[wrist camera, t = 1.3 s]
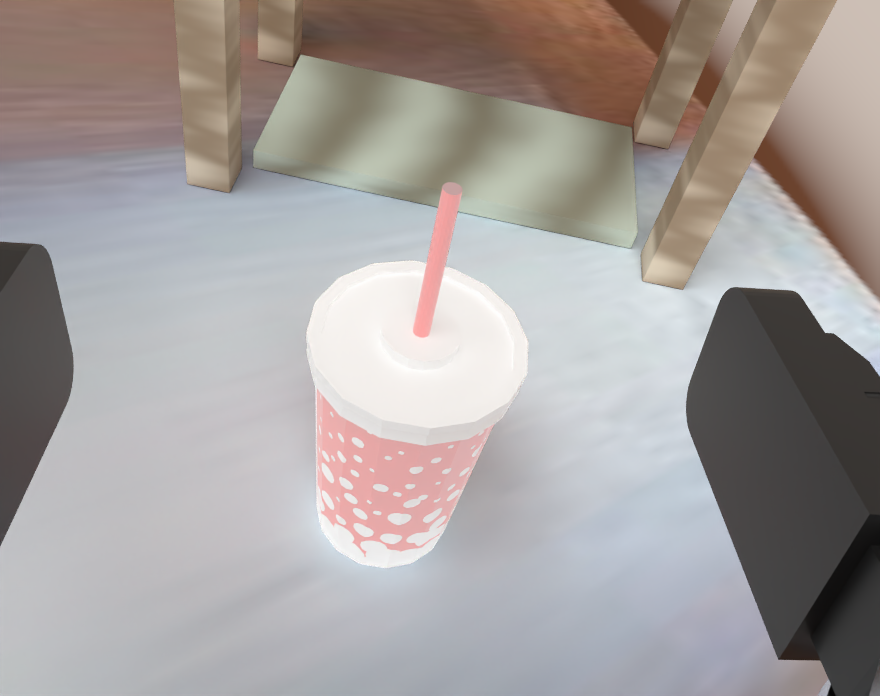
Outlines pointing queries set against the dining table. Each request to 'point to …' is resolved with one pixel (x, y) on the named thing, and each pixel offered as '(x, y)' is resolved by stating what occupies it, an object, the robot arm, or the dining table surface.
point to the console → (498, 127)
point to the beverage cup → (406, 396)
